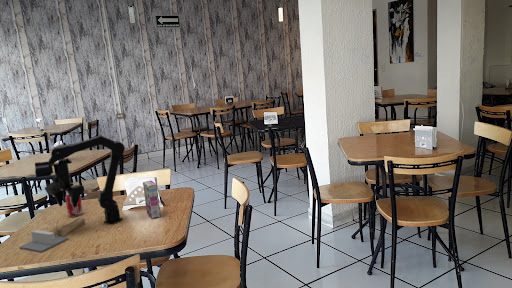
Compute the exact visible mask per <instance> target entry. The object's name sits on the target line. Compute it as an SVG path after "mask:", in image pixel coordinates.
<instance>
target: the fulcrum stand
mask: <svg viewBox="0 0 512 288" xmlns="http://www.w3.org/2000/svg"><path fill="white" fill-rule="evenodd" d="M30 233H31V238H32V240H31V241H28V242H27V243H25V244H22V245H20V246H19V249H21V250H27V251H31V252H36V253H41V254H42V253H44V252H46V251H48V250H50V249H52V248H54V247H57V246H59V245H60V244H62V243H64V242H66V241H68V240H69V237H66V236H64V237H61V236H58V235H55V232H51V231H46V230H45V231H43V230H37V229H35V230H32V231H31V232H30Z"/></svg>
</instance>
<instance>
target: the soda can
mask: <svg viewBox="0 0 512 288" xmlns="http://www.w3.org/2000/svg"><path fill="white" fill-rule="evenodd" d="M68 195H69V194H68V192H66V193H65V199H64V200H65V205H66V210H67V215H68V216H69V217H70V218H76V217H79V216H81V215H82V214H84V213H83V205H82V199H81V196H80V197H79V200H78V203H77V206H76V207H75V208H74V207H73V204H72V200H71V197H70V196H68Z"/></svg>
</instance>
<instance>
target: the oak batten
mask: <svg viewBox="0 0 512 288" xmlns="http://www.w3.org/2000/svg"><path fill="white" fill-rule="evenodd" d="M85 225H86V220H85V217H84V218H83V217H82V218H81V217H78V218H76V219H75V220H73V221H71V222H69V223H67V224H65V225H63V226H61V227H59V228H58V229H56V234H57V235H56V236H60V237H66V236H67V235H70V234H71V233H73V232H75V231H76V230H78V229H80V228H82V227H83V226H85Z"/></svg>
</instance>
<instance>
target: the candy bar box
mask: <svg viewBox="0 0 512 288" xmlns="http://www.w3.org/2000/svg"><path fill="white" fill-rule="evenodd" d="M142 186H143V187H142V188H143V195H144V202H145V209H146V214H147V215H148V216H149V218H150V219H151V220H153V219H158V218H161V217H162V215H161V207H160V199H159V193H158V192H159V191H158V185H157V184H156V183H155V182H154V181H153V180H147V181H142Z"/></svg>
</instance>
